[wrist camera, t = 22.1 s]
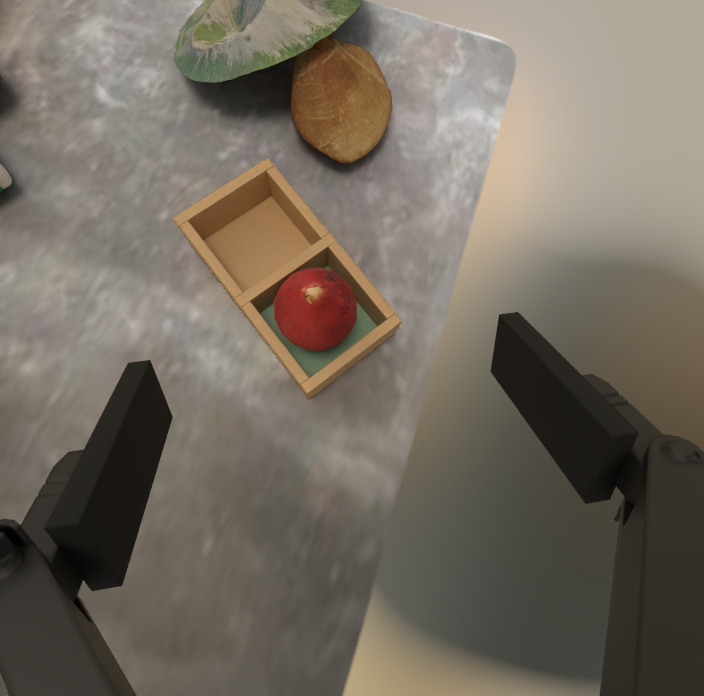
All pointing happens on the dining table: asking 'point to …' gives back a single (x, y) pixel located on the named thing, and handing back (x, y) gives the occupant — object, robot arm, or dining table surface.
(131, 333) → the dining table surface
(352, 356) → the divided box
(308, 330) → the red rounded piece
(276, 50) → the model
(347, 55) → the stone
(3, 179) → the supplement bottle
